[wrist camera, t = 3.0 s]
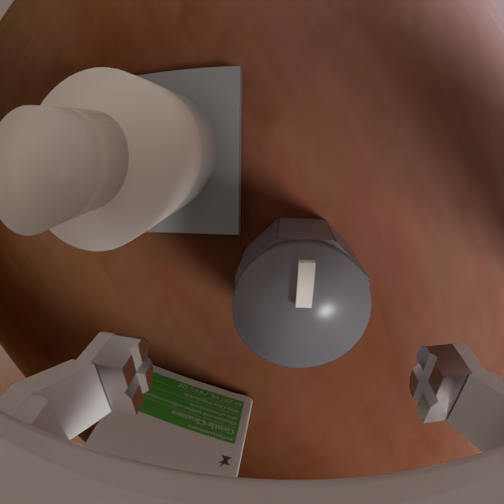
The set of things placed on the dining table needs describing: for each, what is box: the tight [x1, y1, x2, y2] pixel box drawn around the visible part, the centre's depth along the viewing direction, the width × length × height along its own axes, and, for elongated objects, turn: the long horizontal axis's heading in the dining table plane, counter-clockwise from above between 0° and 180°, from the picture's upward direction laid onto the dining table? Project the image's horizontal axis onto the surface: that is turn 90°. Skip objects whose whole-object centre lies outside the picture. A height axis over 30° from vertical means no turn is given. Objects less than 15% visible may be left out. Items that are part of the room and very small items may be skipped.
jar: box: [0, 66, 242, 251], centre depth 11 cm, size 8×8×10 cm
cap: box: [232, 217, 371, 368], centre depth 14 cm, size 6×6×5 cm
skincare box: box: [84, 365, 253, 477], centre depth 13 cm, size 8×7×16 cm
